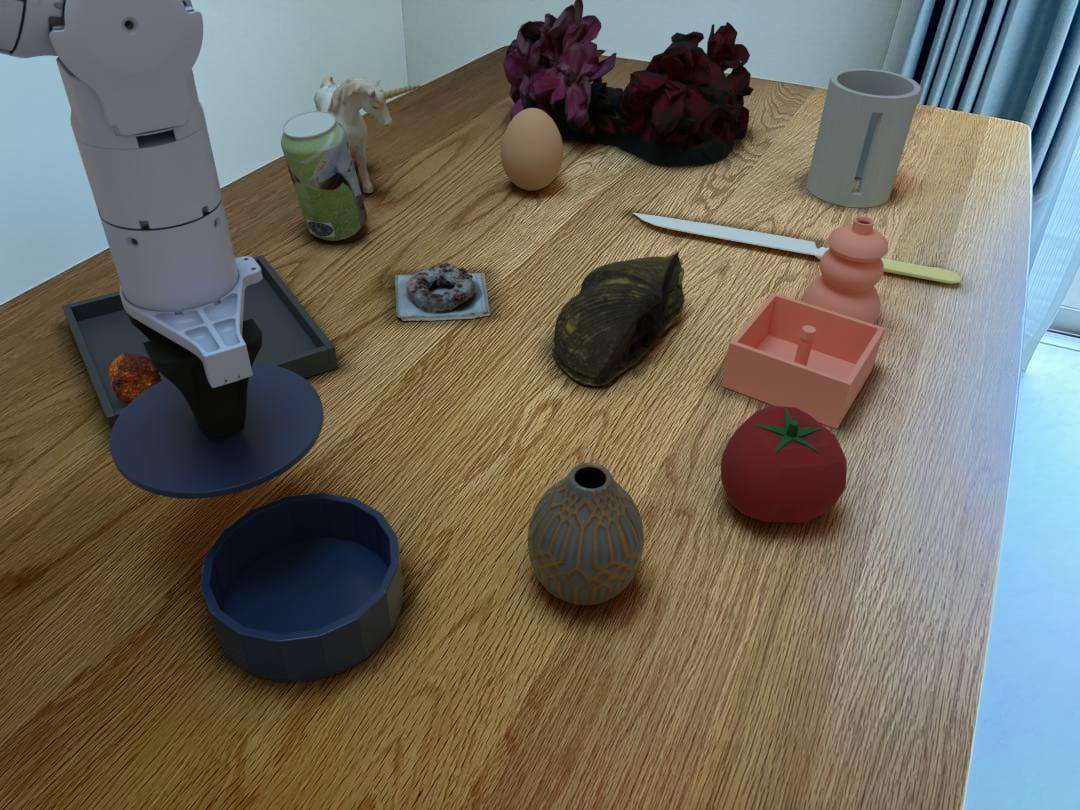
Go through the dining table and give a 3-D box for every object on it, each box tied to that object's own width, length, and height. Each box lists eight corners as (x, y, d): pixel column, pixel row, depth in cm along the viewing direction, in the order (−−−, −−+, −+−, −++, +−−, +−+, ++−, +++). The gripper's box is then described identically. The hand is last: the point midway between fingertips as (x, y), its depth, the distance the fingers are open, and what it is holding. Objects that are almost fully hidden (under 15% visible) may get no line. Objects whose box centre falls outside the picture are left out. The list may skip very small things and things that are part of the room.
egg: (550, 206, 95) (553, 124, 90) (491, 196, 97) (491, 115, 92) (569, 181, 101) (573, 102, 95) (513, 171, 102) (513, 94, 97)
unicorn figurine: (369, 228, 90) (355, 98, 82) (288, 163, 102) (269, 43, 94) (430, 211, 94) (422, 83, 86) (345, 149, 106) (331, 33, 98)
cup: (858, 168, 105) (885, 65, 98) (906, 201, 98) (939, 93, 91) (791, 177, 103) (814, 72, 95) (835, 212, 96) (863, 101, 88)
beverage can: (380, 228, 91) (369, 112, 83) (330, 257, 86) (313, 137, 78) (334, 212, 93) (319, 98, 86) (283, 239, 88) (262, 121, 81)
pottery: (837, 429, 67) (870, 320, 61) (721, 386, 71) (741, 279, 65) (900, 321, 79) (934, 221, 73) (799, 289, 83) (822, 192, 77)
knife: (635, 204, 95) (624, 215, 91) (961, 262, 87) (965, 276, 83) (634, 216, 96) (623, 227, 92) (957, 274, 87) (961, 289, 83)
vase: (580, 521, 59) (587, 420, 54) (660, 580, 55) (677, 477, 50) (503, 577, 55) (503, 474, 50) (584, 644, 51) (593, 540, 46)
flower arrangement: (749, 120, 116) (770, -2, 107) (737, 181, 101) (760, 46, 92) (520, 93, 122) (521, -25, 113) (476, 148, 107) (473, 17, 98)
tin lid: (143, 538, 46) (120, 473, 44) (94, 414, 54) (71, 352, 51) (357, 457, 52) (348, 395, 49) (283, 355, 59) (272, 296, 57)
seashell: (629, 399, 69) (616, 319, 65) (532, 383, 74) (515, 308, 70) (710, 301, 80) (703, 228, 76) (621, 293, 84) (611, 224, 81)
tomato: (852, 530, 59) (880, 448, 55) (743, 554, 57) (763, 472, 53) (792, 452, 65) (813, 373, 60) (692, 472, 63) (706, 392, 59)
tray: (114, 439, 64) (106, 417, 63) (69, 326, 76) (61, 305, 74) (338, 368, 72) (334, 346, 70) (266, 274, 83) (262, 254, 82)
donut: (394, 322, 77) (393, 302, 76) (395, 276, 83) (394, 257, 82) (490, 318, 78) (490, 298, 77) (484, 273, 84) (484, 254, 83)
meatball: (123, 420, 65) (108, 376, 63) (113, 393, 68) (98, 350, 65) (173, 405, 67) (160, 362, 64) (162, 379, 69) (149, 337, 67)
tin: (250, 716, 47) (237, 674, 45) (192, 579, 55) (178, 536, 52) (434, 627, 52) (431, 585, 50) (359, 512, 59) (352, 470, 57)
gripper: (293, 245, 41) (330, 464, 49) (199, 137, 50) (244, 337, 58) (132, 286, 37) (202, 513, 46) (65, 163, 47) (133, 370, 55)
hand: (217, 417), depth 52 cm, fingers closed on tin lid, 2 cm apart
